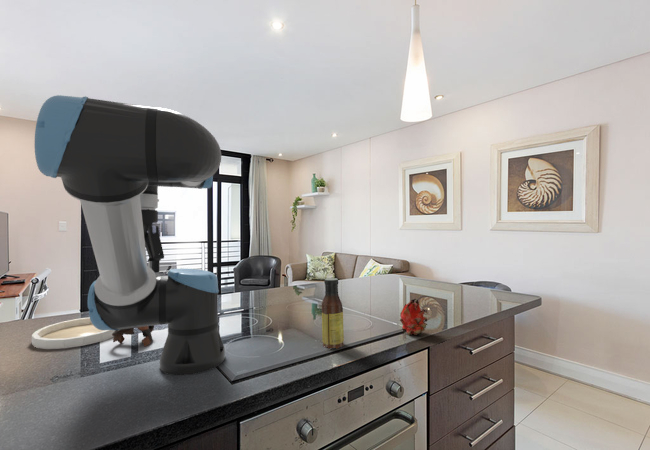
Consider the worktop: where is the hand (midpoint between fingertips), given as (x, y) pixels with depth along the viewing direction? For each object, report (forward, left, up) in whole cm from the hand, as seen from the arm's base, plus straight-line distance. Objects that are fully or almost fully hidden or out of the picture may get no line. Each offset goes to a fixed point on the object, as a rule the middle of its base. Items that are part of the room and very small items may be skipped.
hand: (143, 281), depth 92 cm
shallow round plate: (+23, +9, -19) cm, 31 cm away
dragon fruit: (-60, -56, -19) cm, 84 cm away
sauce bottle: (-45, -33, -19) cm, 59 cm away
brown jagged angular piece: (+1, -1, -20) cm, 20 cm away
